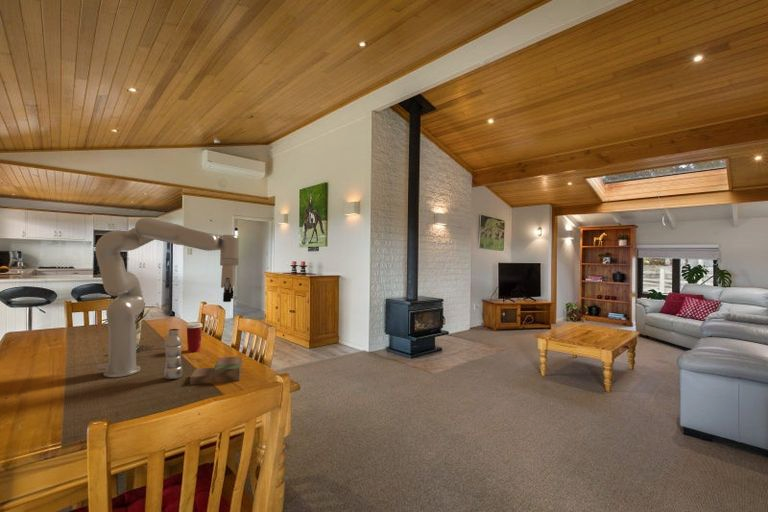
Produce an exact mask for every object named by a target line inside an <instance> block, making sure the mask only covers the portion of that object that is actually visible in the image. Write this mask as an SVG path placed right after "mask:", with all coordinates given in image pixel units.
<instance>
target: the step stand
mask: <svg viewBox="0 0 768 512" xmlns="http://www.w3.org/2000/svg"><path fill="white" fill-rule="evenodd" d="M242 362H243V358H242V356H229V357H228V356H226V357H225V356H223V357H218V359H217V360H216V362H215V365H214V367H202V368H201V367H200V368H195V369H194V370H193V372H192V374H191V375H190V376H189V377H190V378H189V385H191V386H192V385H202V384H203V385H204V384H214V383H215V384H216V383H217V384H218V383H229V382H230V383H231V382H239V381H240V379H241V376H242V370H243V369H242Z"/></svg>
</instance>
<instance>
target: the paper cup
mask: <svg viewBox="0 0 768 512" xmlns="http://www.w3.org/2000/svg"><path fill="white" fill-rule="evenodd" d="M185 328H186V340H187V352H188V353H199V352H200V351H201V348H202V347H201V345H202V333H203V323H201V322H191V323H187V324H186V326H185Z"/></svg>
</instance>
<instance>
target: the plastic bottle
mask: <svg viewBox="0 0 768 512" xmlns="http://www.w3.org/2000/svg"><path fill="white" fill-rule="evenodd" d="M179 331H180V329H179V328H170V329H168V333H167V335H168V336H167V338H166V339H165V340H164V343H163V345H164V352H165V367H164V370H163V371H164V372H163V375H164V376H163V377H164V378H165V379H167V380H176V379H178V378H181V377H182V375H183V366H182V356H181V355H182V348H183V340H182V338H181V337H180V332H179Z"/></svg>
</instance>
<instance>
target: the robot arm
mask: <svg viewBox="0 0 768 512" xmlns="http://www.w3.org/2000/svg"><path fill="white" fill-rule="evenodd" d="M155 240H156V241H158V242H159V241H160V242H165V243H168V244H169V243H170V244H172V245H173V244H174V245H178V246H184V247H188V248H192V249H198V250H201V251H206V252H207V251H220V254H219V255H220V257H219V258H220V260H219V261H220V262H219V266H221V277H220V279H221V281H220V288H222V289H223V293H222V295H223V296H222V302H224V303H231V302H232V300H233V299H234V287H235V283H236V267H238V266H239V249H240V248H239V247H240V245H239V244H240V237H239V236H238V235H235V234H217V233H210V232H206V231H201V230H197V229H192V228H188V227H185V226H183V225H180V224H178V223H173V222H169V221H163V220H160V219H156V218H151V217H150V218H149V217H143V218H140V219H138V220H137V222H135V225H134V227H133V228H131V229H129V230H120V229H119V230H118V229H117V230H113V231H109V232H106V233H105V234H102V236H101V237H99V238H98V240H97V242H96V244H95V248H94V251H95V252H94V253H95V256H96V260H97V264H98V269H99V272H100V276H101V280H102V285H103V289H104V290H105V292H106V293H107V294H108V295H110V296H114V297H115V296H117V299H115V300H113V301H111V302H110V304H108V305H107V308H106V313H105V314H106V320H107V321H106V322H107V328H108V329H107V330H108V336H107V337H108V355H107V356H108V358H107V359H108V362H106V363H98V364H97V365H96V368H97V370H98V371H101V370H104V372H103V376H104V377H107V378H122V377H128V376H131V375H134V374H136V373H138V372H140V371H141V366H140V365H137V324H136V320H135V317H137V316H138V315H140V314H141V313H142V312H143V311H144V309H145V301H144V300H145V299H144V296H143V292H142V288H141V284H140V281H139V278H138V276H136V274H134V273H133V272H131V271H130V272H129V271H127V270H126V266H125V262H124V259H123V257H122V255H121V252H126V251H127V252H129V251H134V250H136V249H139V248H141V247H143V246H144V245H147V244H149V243H150V242H153V241H155Z"/></svg>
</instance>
